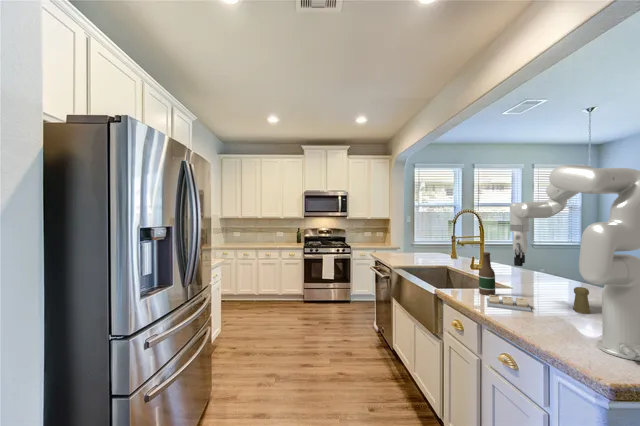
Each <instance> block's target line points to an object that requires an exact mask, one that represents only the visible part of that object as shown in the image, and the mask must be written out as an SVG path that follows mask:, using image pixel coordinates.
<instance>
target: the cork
mask: <svg viewBox="0 0 640 426" xmlns="http://www.w3.org/2000/svg"><path fill="white" fill-rule="evenodd" d="M573 293H574V301H573V306H572V307H573V308H572V309H573V311H574V312H575V313H578V314H584V315H591V314H592V312H591V308H590V302H589V297H588V296H589V295H590V291H589V289H588V288H586V287H582V286H581V287H580V286H575V287H574V288H573Z"/></svg>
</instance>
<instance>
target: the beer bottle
mask: <svg viewBox="0 0 640 426" xmlns="http://www.w3.org/2000/svg"><path fill="white" fill-rule="evenodd" d="M482 256H483V257H482V265H481V268H480V269H479V271H478V290H479V291H478V293H479V295H481V296H487V297H489V295H495V296H496V273H495V271H494V269H493V268H492V264H491V263H492V262H491V253H490V252H485V251H484V252H482Z"/></svg>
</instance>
